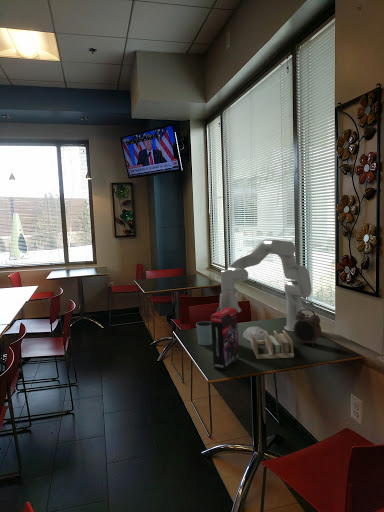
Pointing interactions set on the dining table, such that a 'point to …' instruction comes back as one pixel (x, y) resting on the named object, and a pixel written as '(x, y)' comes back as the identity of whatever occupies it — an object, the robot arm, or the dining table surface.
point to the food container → (254, 333)
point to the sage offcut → (275, 345)
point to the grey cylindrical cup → (204, 333)
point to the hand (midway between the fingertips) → (229, 322)
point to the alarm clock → (307, 327)
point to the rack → (269, 346)
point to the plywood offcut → (284, 344)
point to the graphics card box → (225, 338)
